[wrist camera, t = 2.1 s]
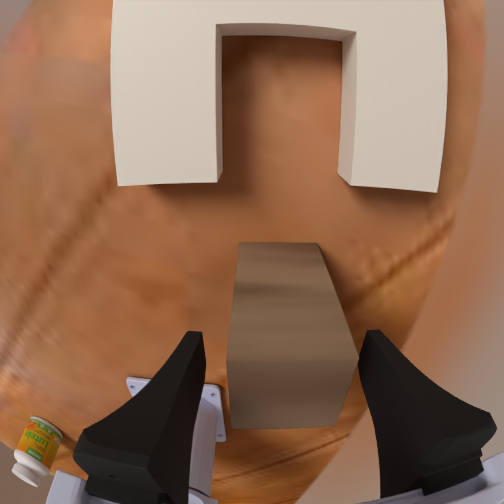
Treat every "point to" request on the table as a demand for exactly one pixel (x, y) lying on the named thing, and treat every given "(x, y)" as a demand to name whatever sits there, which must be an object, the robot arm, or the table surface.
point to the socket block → (278, 24)
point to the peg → (286, 340)
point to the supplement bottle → (36, 450)
